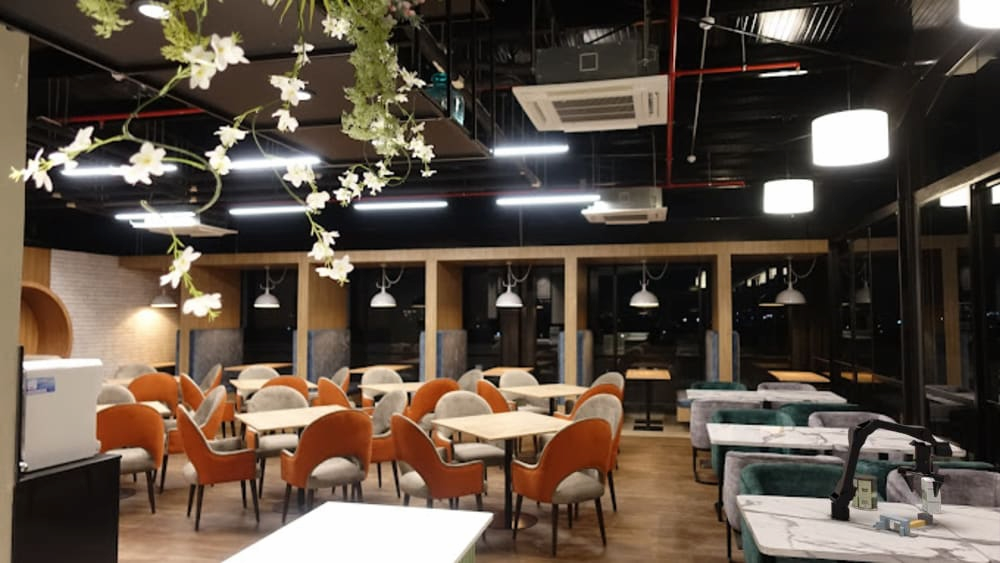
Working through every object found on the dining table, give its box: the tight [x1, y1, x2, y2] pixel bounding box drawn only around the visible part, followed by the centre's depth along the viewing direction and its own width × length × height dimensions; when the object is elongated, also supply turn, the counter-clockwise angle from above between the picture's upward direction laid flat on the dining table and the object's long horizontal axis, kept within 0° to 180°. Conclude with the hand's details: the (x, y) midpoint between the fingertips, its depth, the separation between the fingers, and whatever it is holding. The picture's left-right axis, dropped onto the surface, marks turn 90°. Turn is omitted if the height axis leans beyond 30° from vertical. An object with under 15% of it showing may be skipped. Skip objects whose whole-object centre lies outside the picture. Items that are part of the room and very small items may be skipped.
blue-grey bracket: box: [872, 513, 919, 538], centre depth 264 cm, size 6×16×5 cm, turn 29°
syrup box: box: [920, 477, 942, 515], centre depth 294 cm, size 6×6×14 cm
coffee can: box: [851, 473, 879, 511], centre depth 300 cm, size 10×10×14 cm
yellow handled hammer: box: [893, 512, 934, 532], centre depth 271 cm, size 22×4×4 cm, turn 119°
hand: (923, 494), depth 276 cm, fingers open, 9 cm apart
